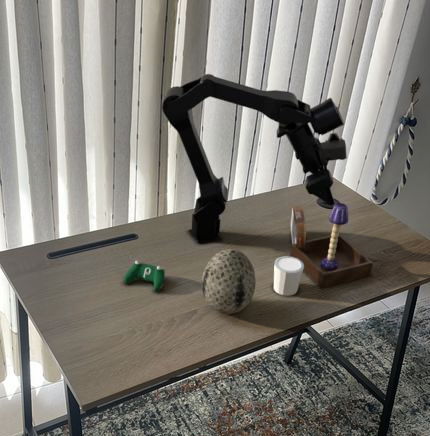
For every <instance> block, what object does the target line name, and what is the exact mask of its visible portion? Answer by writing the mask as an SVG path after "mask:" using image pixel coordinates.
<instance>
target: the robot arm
mask: <svg viewBox="0 0 430 436" xmlns="http://www.w3.org/2000/svg"><path fill="white" fill-rule="evenodd" d="M208 98H214V99H216V100H220V101H224V102H226V103H231V104H234V105H237V106H241V107H245V108H247V109H250V110H254V111H257V112H259V113H261V114H263V115H264V116H265V117H266V118H268V119H270V120H271V121H274V122H276V123H278V127H277V129H276V138H277V139H279V138H280V139H281V138H282V137H284V136H286V138H287V140H288V142H289V144H290V146H291V148H292V149H293V151H294V156H295V159H296V160H298V161H299V163H300V165H301V167H302V172H303V174H304V175H306V174H308V173H310V174H308V175H307V176H305V179H304V187H305V189H306V192H307V193H308V195H312V196H315V197H317V198H318V199H320V200H321V201H322V202H324V203H325V204H327V205H328V206H331V207H332V206H334V205H335V200H334V196H333V192H332V190H331V188H332V186H333V185H334V177H333V175H332V172H331V170H330V169H328V165H329V162H331V161H338V160H339V161H344V160H347V158H348V157H347V144H346V140H345V139H343V137H341V138H340V136H339V135H338V133H337V132H333V131H334V130H337V129H338V128H340V127H343V126H344V125H345V122H344V119H343V116H342V114H341V112H340V109H339V107H338V106H337V105H336V103H335V102H334V100H333V97H329V98H327V99H325V100H324V101H323V102H321V103H319V104H317V105H315V106H313V107H311V104H308V103H306V102H304V101H302V100H300V99H298V98H297V96H296V94H294V93H293V92H291V91H287V90H277V89H274V90H272V89H271V90H263V89H258V88H254V87H252V86H249V85H245V84H241V83H238V82H234V81H231V80H228V79H224V78H221V77H218V76H215V75H214V74H210V73H206V74H204V75H203V76H201V77H199V78H196V79H194V80H190V81H188V82H186V83H184V84H183V85H181V86H179V85H175V86H172V87H170V88H168V89H167V91H166V92H165V96H164V98H163V102H162V106H161V109H162V112H163V114H164V116H165V118H166V119H167V121H168V123H169V124H170V125H171V127H172V128H173V129H174V130H175V131H176V132H177V133H178V136H179V138H180V140H181V143H182V146H183V148H184V150H185V153H186V155H187V158H188V161H189V163H190V165H191V169H192V170H193V174H194V175H195V178H196V180H197V183H198V187H199V188H198V189H199V196H198V197H197V198H196V200H195V204H194V210H193V213H192V214H191V228H190V229H188V233H189V235H190V236H191V237H192V239H194V240H195V241H196V242H197V244H203V243H204V244H205V243H209V242H213V241H219V240H221V236H220V231H221V230H220V229H221V219H220V216H221V215H222V214H224V212H225V211H226V205H227V204H226V203H227V202H228V194H229V188H228V187H227V185H225V179H224V176H221V177H219V178H218V177H217V176H216V175H215V174H214V172H213V169H212V167H211V164H210V162H209V159H208V156H207V153H206V151H205V149H204V147H203V143H202V141H201V138H200V135H199V132H198V131H197V128H196V125H195V121H194V115H193V109H194V108H195V107H197V106H198V105H199V104H201V103H202V102H203V101H204V100H206V99H208ZM309 124H310V125H311V127H310V125H309ZM311 128H312V129H311ZM332 132H333V133H332ZM314 133H315V134H317V135H318V136H325V135H326V134H328V133H330V134H329V136H328V138H327V139H325V141H322V142H321V141H320V139H319V138H317V137H315V134H314Z"/></svg>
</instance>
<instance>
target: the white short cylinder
mask: <svg viewBox="0 0 430 436" xmlns="http://www.w3.org/2000/svg"><path fill="white" fill-rule="evenodd" d="M273 268H274V270H273V290H274V291H275V292H276V293H277V294H279V295H282V296H286V297H288V296H289V297H290V296H293V295H295V294H296V293H297V292H298V289H299V285H300V282H301V280H302V275H303V272H304V271H303V269H304V264H303V262H302V261H300V260H299V259H297V258H294V257H290V255H286V256H280V257H278V258H276V259H275V260H274V267H273Z"/></svg>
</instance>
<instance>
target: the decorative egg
mask: <svg viewBox="0 0 430 436" xmlns="http://www.w3.org/2000/svg"><path fill="white" fill-rule="evenodd" d="M256 282H257V281H256V273H255V268H254V266H253V264H252V262H251V260H250V259H249V258H248V256H247V255H246V254H244V253H243V252H242V251H240V250H238V249H234V248H227V249H223V250H220V251H217V253H215V254H214V255H213V256H212V257H211V259H210V260H209V261H208V262H207V264H206V266H205V268H204V271H203V274H202V278H201V292H202V295H203V298H204V300H205V302H206V303H207V305H208V306H209V307H210V308H211V309H212V310H214V311H216V312H218V313H220V314H224V315H231V314H236V313H238V312H240V311H242V310H244V309H245V308H246V307H247V306H248V305H249V304H250V302H251V301H252V299H253V296H254V294H255V290H256V284H257V283H256Z"/></svg>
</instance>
